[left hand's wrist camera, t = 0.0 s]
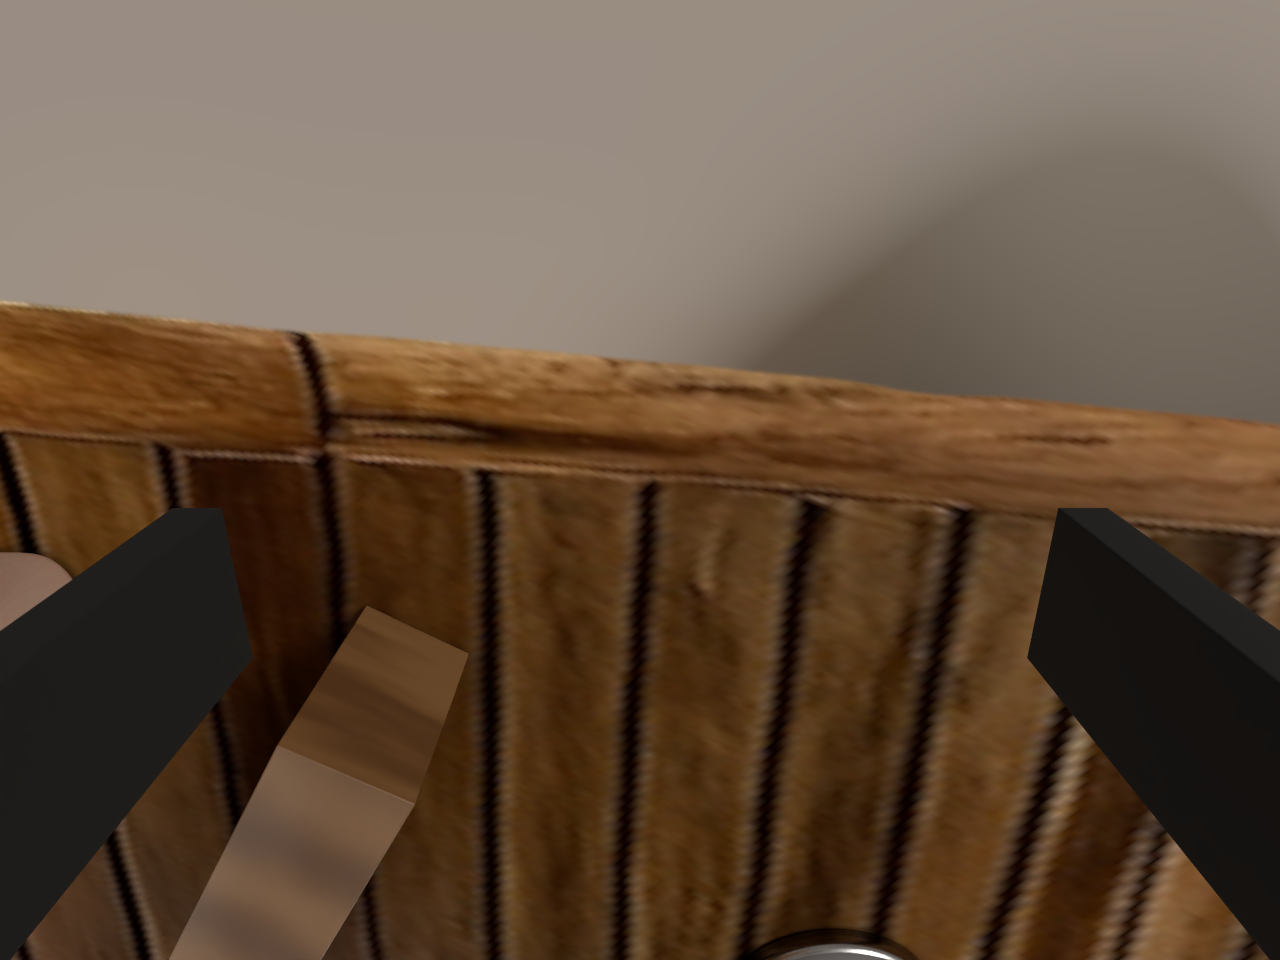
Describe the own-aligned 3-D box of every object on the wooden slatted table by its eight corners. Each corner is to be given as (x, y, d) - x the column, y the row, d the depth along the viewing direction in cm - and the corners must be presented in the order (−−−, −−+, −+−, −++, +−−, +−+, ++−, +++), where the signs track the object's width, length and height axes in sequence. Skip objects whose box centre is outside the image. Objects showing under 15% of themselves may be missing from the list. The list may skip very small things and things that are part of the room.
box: (366, 604, 45) (276, 745, 34) (469, 653, 46) (415, 805, 35) (231, 865, 52) (120, 1053, 41) (323, 902, 53) (240, 1094, 42)
